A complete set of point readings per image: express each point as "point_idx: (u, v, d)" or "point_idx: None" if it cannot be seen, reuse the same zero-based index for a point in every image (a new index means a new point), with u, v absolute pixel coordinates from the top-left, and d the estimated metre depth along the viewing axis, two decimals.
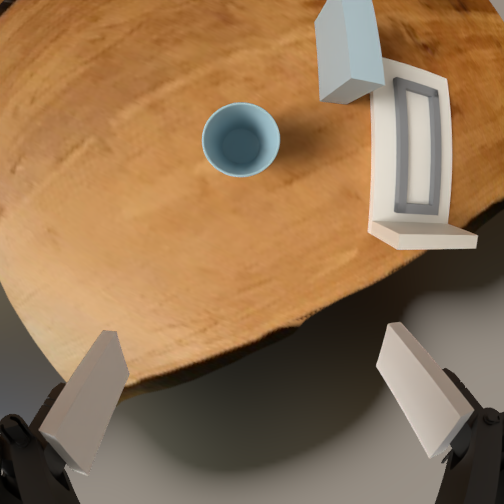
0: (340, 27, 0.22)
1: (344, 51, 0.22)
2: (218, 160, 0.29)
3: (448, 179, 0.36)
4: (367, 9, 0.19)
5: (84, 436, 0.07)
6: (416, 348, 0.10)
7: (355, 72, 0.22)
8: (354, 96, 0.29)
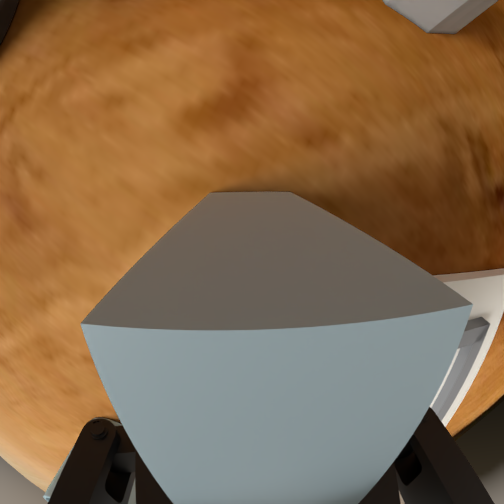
0: None
1: None
2: None
3: None
4: (342, 484, 0.03)
5: None
6: None
7: None
8: None
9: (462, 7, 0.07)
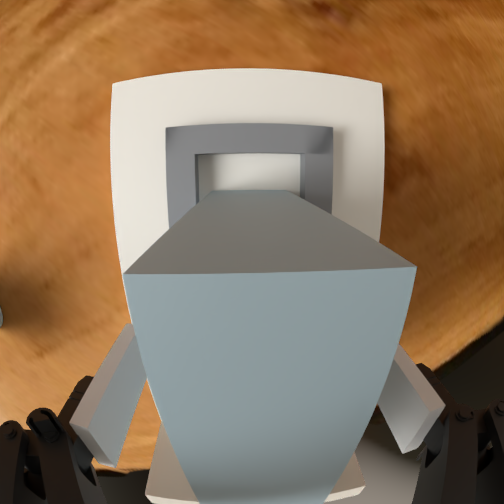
0: None
1: None
2: None
3: None
4: (326, 437, 0.05)
5: (113, 427, 0.08)
6: None
7: None
8: None
9: None
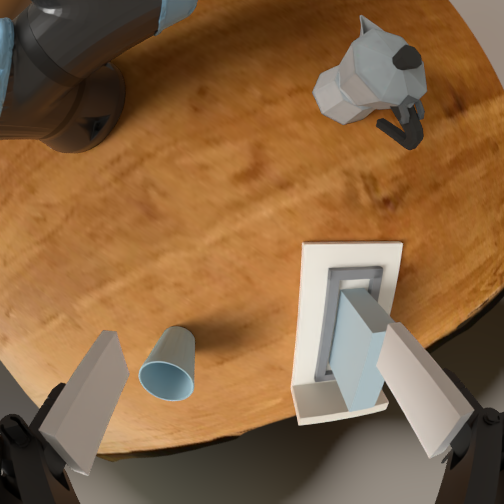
0: (357, 368, 0.32)
1: (352, 389, 0.32)
2: (156, 376, 0.36)
3: None
4: None
5: (84, 436, 0.07)
6: (416, 348, 0.10)
7: (354, 407, 0.32)
8: None
9: (356, 115, 0.30)
